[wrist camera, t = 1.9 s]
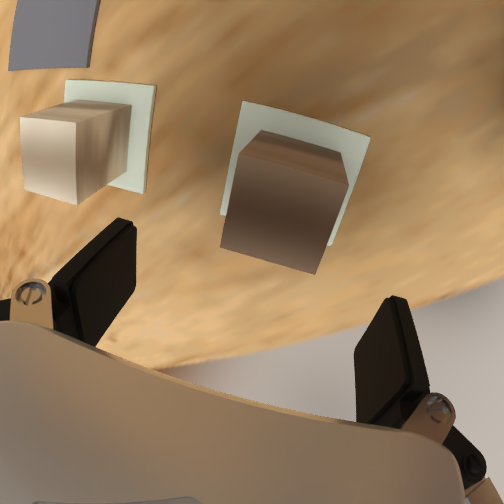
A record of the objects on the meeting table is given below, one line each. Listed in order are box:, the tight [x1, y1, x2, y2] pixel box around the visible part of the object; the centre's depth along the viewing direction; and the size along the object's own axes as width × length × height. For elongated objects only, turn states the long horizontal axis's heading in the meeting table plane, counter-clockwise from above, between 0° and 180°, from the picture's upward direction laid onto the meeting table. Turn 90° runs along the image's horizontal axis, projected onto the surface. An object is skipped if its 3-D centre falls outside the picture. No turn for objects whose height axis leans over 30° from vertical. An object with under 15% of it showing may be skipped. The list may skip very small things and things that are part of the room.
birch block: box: [20, 99, 132, 205], centre depth 18 cm, size 5×5×6 cm
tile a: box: [220, 101, 371, 247], centre depth 20 cm, size 8×8×1 cm
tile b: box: [64, 79, 157, 194], centre depth 21 cm, size 8×8×1 cm
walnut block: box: [220, 130, 349, 275], centre depth 17 cm, size 5×5×6 cm
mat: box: [8, 0, 100, 71], centre depth 15 cm, size 10×10×1 cm
